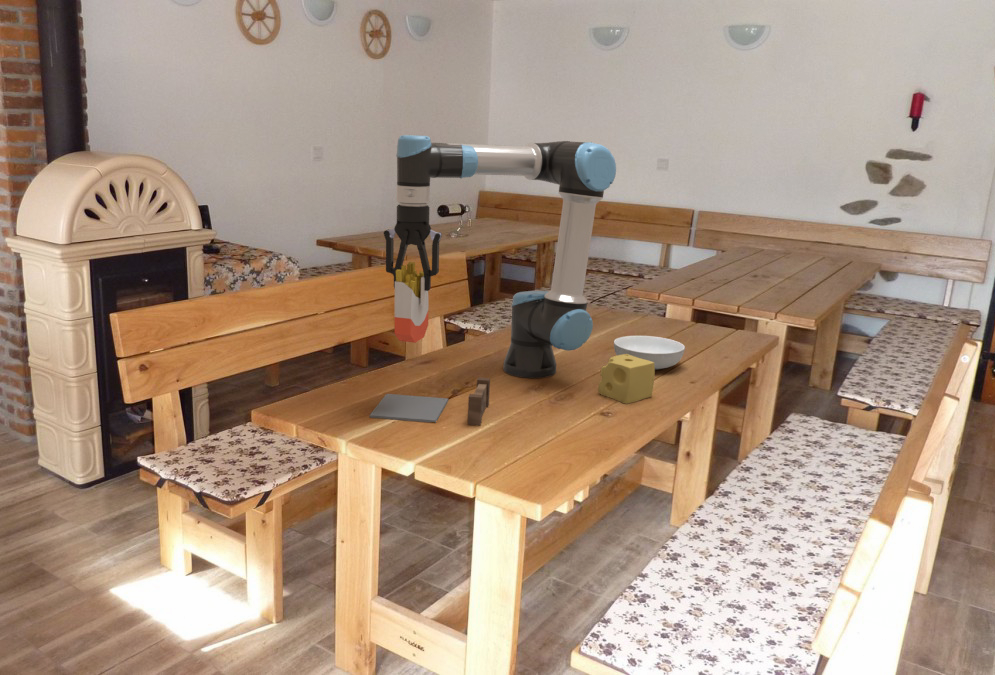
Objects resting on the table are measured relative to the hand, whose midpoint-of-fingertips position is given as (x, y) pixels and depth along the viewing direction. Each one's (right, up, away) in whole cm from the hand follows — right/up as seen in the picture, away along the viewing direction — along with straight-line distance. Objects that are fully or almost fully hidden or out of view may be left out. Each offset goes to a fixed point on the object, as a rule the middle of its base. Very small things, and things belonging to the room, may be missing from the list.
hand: (411, 302), depth 197 cm
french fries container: (0, -9, +2) cm, 9 cm away
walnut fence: (+16, -27, +5) cm, 32 cm away
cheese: (+54, -24, +23) cm, 64 cm away
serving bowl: (+65, -17, +51) cm, 84 cm away
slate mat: (-1, -26, +7) cm, 27 cm away
